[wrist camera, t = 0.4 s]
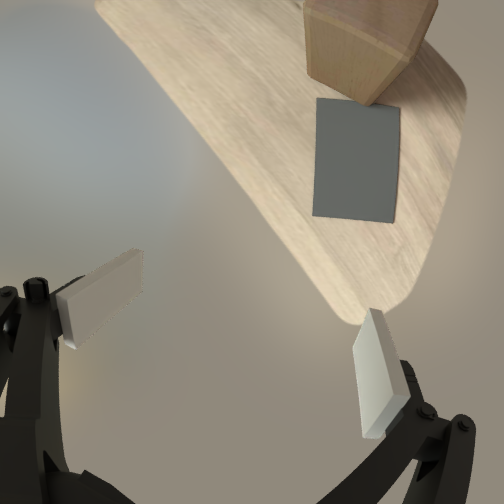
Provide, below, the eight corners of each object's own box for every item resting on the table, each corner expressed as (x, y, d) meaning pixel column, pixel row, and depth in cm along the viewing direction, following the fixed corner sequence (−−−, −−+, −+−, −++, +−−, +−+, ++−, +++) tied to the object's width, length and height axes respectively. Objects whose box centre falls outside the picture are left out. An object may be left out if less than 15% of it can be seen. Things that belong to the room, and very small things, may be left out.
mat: (316, 98, 36) (316, 97, 36) (398, 108, 34) (399, 107, 34) (312, 215, 41) (312, 216, 41) (392, 223, 39) (392, 223, 39)
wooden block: (394, 59, 32) (444, -6, 13) (368, 110, 35) (414, 63, 16) (333, 28, 32) (342, -56, 13) (304, 76, 35) (297, 5, 16)
